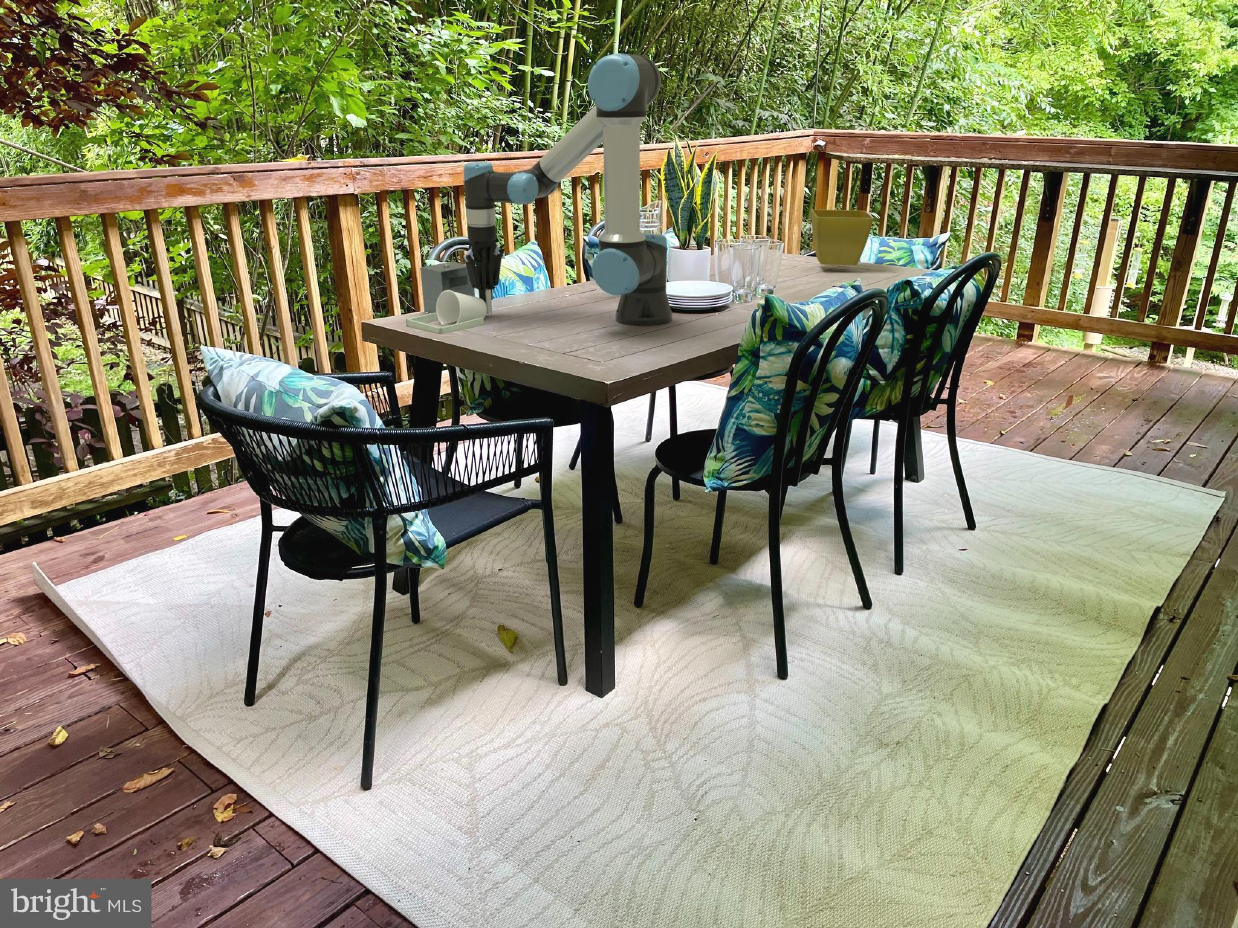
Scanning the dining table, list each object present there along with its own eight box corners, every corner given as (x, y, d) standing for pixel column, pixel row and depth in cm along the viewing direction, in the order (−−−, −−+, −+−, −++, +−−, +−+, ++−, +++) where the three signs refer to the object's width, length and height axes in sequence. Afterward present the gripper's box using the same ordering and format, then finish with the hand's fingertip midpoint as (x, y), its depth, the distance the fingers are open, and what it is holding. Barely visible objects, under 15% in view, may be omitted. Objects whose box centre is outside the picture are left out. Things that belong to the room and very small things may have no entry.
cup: (496, 318, 236) (465, 318, 228) (474, 334, 243) (443, 334, 234) (485, 284, 238) (453, 283, 229) (463, 301, 244) (431, 300, 235)
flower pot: (860, 257, 323) (865, 209, 316) (868, 268, 305) (874, 217, 299) (807, 256, 325) (810, 209, 318) (812, 267, 307) (816, 217, 300)
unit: (476, 312, 250) (473, 263, 245) (445, 319, 243) (441, 269, 237) (454, 307, 256) (451, 259, 251) (423, 314, 249) (419, 265, 243)
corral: (484, 329, 234) (483, 317, 233) (441, 340, 224) (440, 328, 223) (449, 320, 242) (449, 309, 241) (407, 330, 233) (405, 319, 231)
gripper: (491, 220, 240) (496, 306, 250) (452, 226, 231) (459, 315, 241) (509, 223, 235) (514, 311, 245) (471, 229, 227) (477, 320, 236)
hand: (487, 313), depth 243 cm, fingers closed
